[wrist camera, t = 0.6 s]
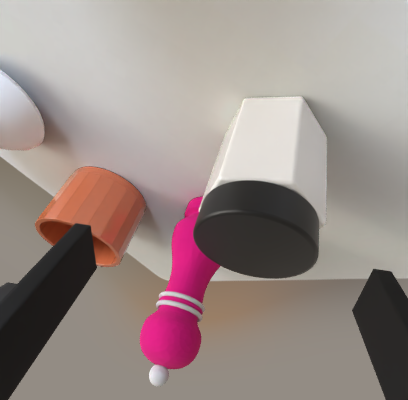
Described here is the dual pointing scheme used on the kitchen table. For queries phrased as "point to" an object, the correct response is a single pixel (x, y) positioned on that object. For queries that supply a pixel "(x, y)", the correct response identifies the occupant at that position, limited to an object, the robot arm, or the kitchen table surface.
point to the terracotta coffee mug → (95, 212)
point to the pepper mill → (179, 304)
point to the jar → (266, 191)
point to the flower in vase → (18, 117)
